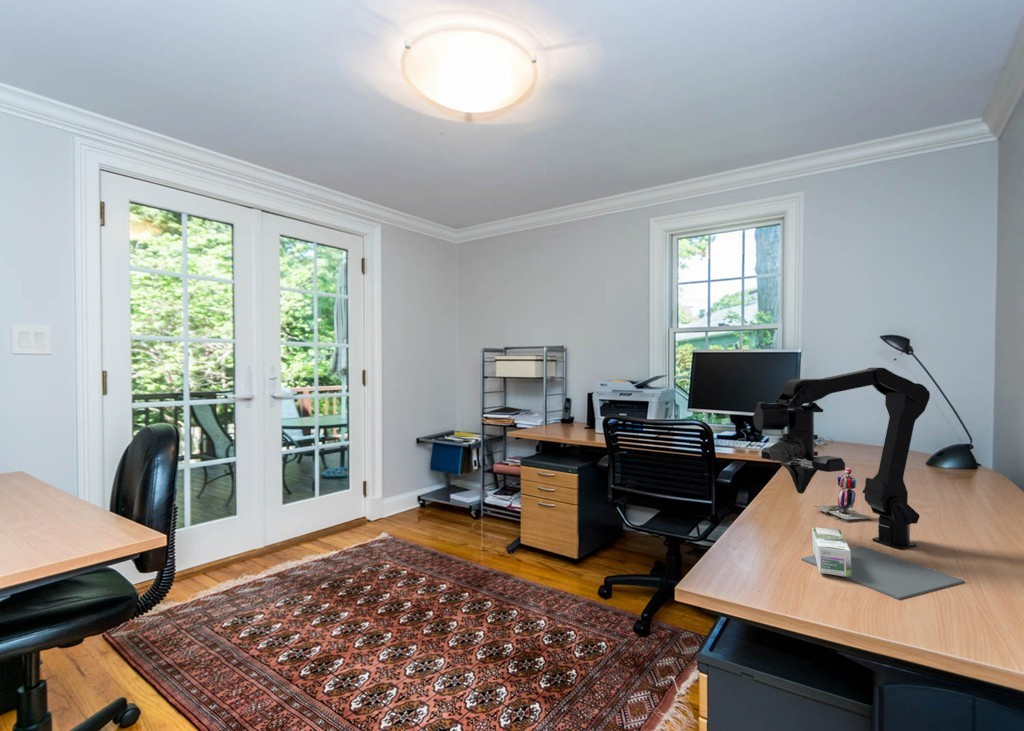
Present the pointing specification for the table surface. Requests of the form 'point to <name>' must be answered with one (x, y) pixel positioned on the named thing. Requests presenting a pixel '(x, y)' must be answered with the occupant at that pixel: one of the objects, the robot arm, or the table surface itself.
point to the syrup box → (831, 551)
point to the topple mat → (892, 574)
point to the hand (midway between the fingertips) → (800, 493)
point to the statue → (845, 500)
